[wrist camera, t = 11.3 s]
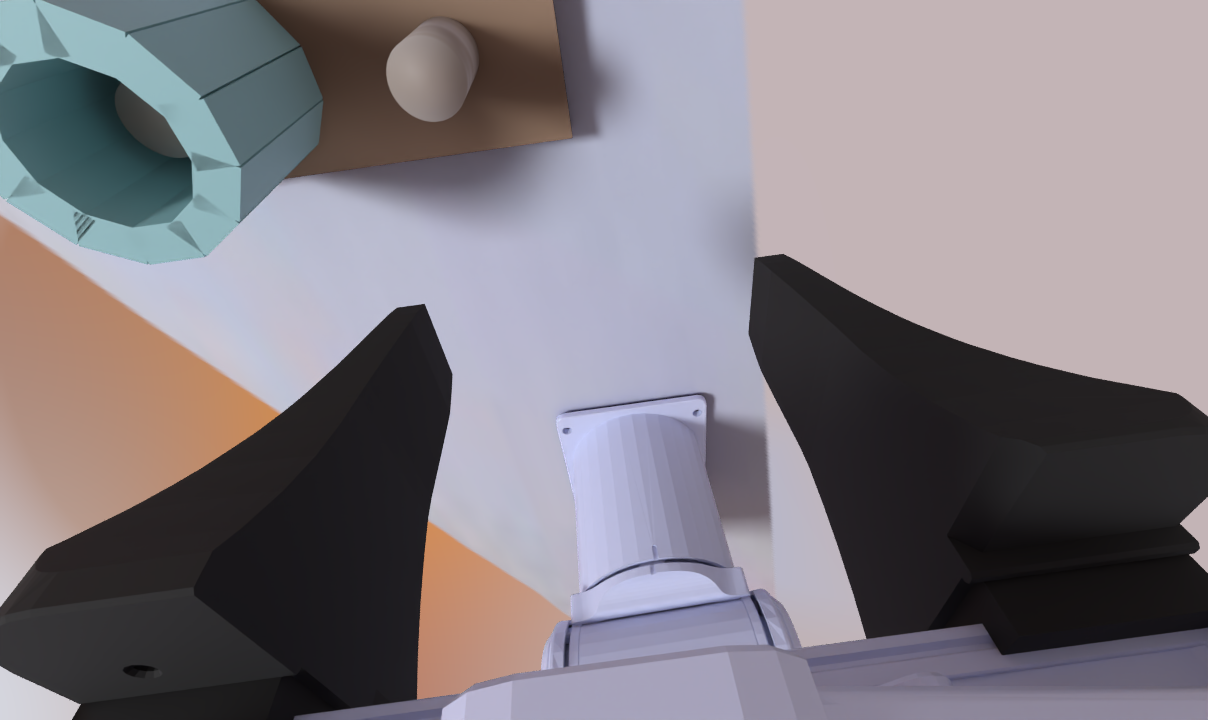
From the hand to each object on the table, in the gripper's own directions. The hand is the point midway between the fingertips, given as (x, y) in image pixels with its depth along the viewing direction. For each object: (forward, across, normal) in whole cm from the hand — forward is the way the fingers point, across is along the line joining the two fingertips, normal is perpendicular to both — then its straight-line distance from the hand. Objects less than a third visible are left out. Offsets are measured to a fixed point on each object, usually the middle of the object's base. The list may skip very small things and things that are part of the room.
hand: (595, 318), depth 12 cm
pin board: (+10, +7, -4) cm, 13 cm away
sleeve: (+9, +10, -4) cm, 15 cm away
